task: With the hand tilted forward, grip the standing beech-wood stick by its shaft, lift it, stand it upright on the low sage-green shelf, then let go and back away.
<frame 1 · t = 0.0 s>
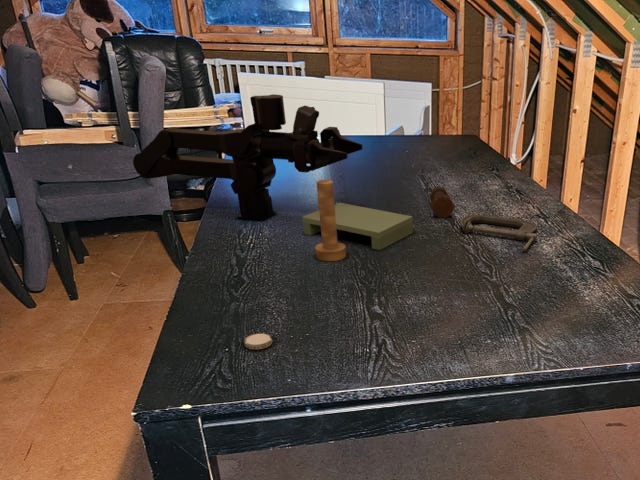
hand: (354, 151, 141), 17 cm above the table, tool horizontal, fingers open, 9 cm apart
stick: (331, 256, 132), on the table
bolt: (440, 209, 162), on the table
shelf: (359, 233, 144), on the table
c clamp: (498, 234, 147), on the table
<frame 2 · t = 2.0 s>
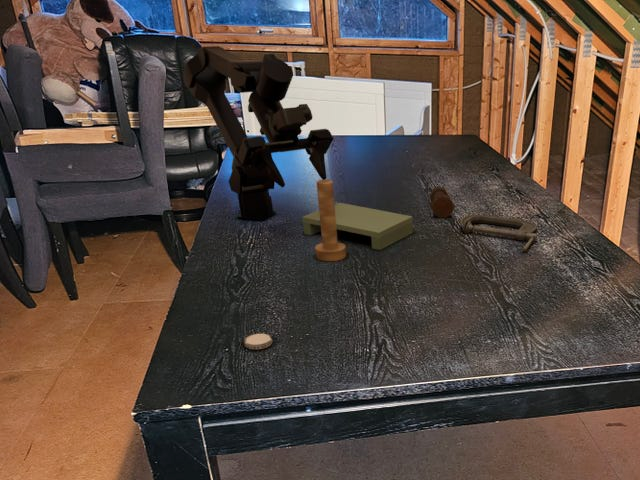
hand: (304, 182, 130), 13 cm above the table, tool tilted 45°, fingers open, 9 cm apart
nothing on the table moved.
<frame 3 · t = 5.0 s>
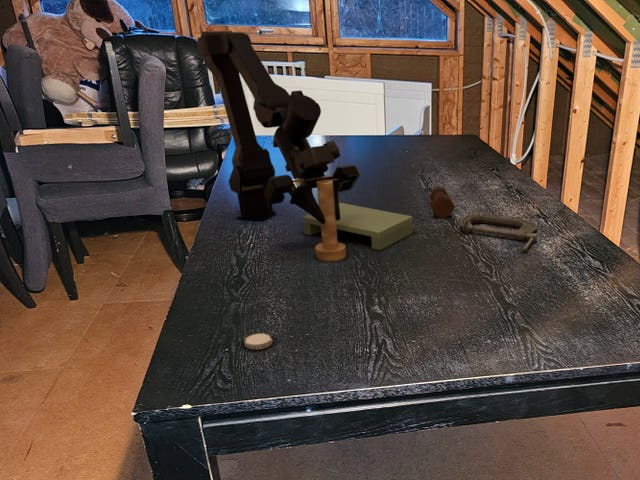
hand: (331, 221, 127), 8 cm above the table, tool tilted 45°, fingers closed on stick, 3 cm apart
stick: (331, 256, 132), on the table, touching gripper
everything else where it was.
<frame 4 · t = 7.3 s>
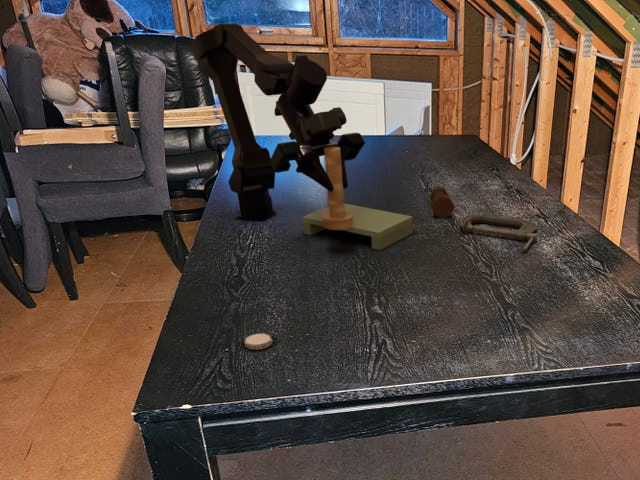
hand: (339, 189, 126), 13 cm above the table, tool tilted 45°, fingers closed on stick, 3 cm apart
stick: (338, 225, 130), point 6 cm above the table, touching gripper
everything else where it was.
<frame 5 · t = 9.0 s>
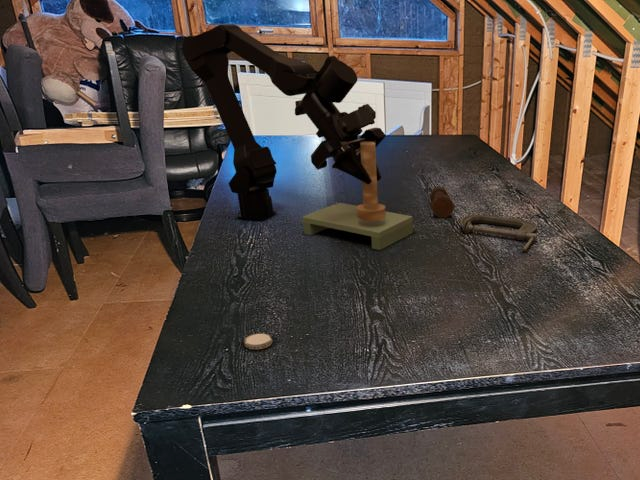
hand: (375, 181, 133), 13 cm above the table, tool tilted 45°, fingers closed on stick, 3 cm apart
stick: (371, 216, 138), point 5 cm above the table, touching gripper
everything else where it was.
when the fingers open (11 cm above the table, at t = 9.9 s): stick stays where it is, resting on shelf.
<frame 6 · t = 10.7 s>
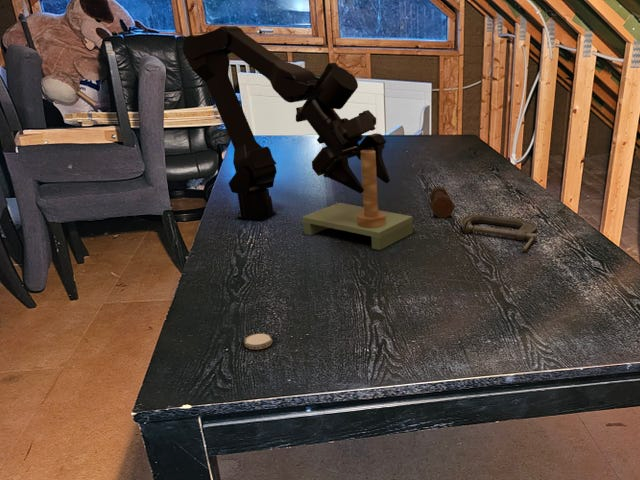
hand: (375, 186, 134), 12 cm above the table, tool tilted 45°, fingers open, 9 cm apart
stick: (371, 223, 139), point 4 cm above the table, touching shelf
everything else where it was.
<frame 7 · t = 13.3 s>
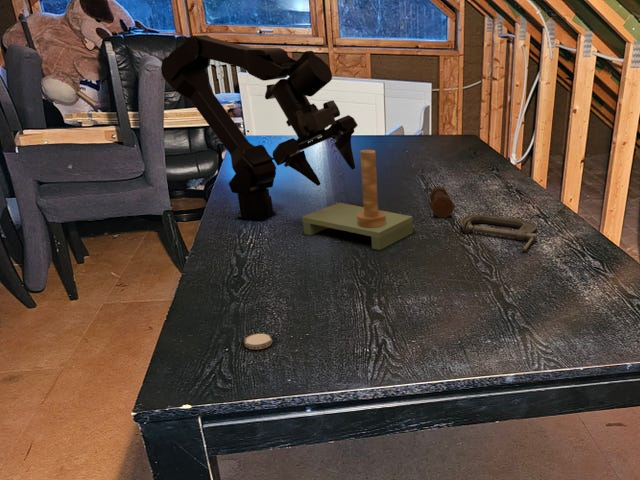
hand: (336, 176, 139), 12 cm above the table, tool tilted 35°, fingers open, 9 cm apart
nothing on the table moved.
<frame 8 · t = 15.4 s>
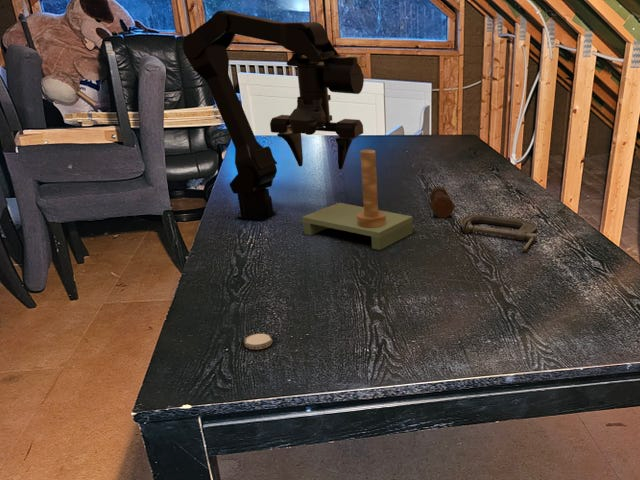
hand: (320, 167, 142), 13 cm above the table, tool pointing down, fingers open, 9 cm apart
nothing on the table moved.
at the end: stick inside the target area on the shelf (0.1 cm from its centre), point 3.8 cm above the shelf's base; stick tilted 0°; the gripper is holding nothing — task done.
